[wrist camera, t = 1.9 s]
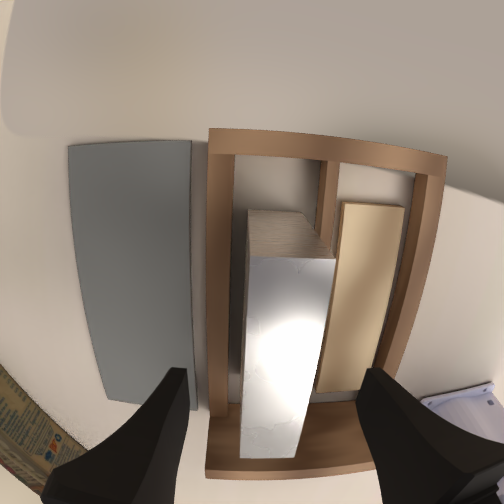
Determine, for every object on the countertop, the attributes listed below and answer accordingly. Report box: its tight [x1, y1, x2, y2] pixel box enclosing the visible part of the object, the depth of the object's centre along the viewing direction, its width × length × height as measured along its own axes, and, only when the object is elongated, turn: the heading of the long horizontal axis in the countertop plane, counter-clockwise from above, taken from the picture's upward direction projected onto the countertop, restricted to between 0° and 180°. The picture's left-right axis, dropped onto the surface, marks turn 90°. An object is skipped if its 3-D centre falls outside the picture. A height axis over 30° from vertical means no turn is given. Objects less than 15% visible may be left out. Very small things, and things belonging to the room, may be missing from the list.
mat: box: [68, 141, 198, 411], centre depth 18 cm, size 7×18×1 cm, turn 177°
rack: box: [205, 128, 447, 480], centre depth 16 cm, size 12×19×6 cm, turn 177°
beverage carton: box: [0, 364, 87, 496], centre depth 20 cm, size 8×19×7 cm, turn 30°
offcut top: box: [315, 202, 405, 393], centre depth 19 cm, size 4×13×1 cm, turn 178°
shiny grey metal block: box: [240, 210, 336, 458], centre depth 15 cm, size 3×11×7 cm, turn 177°
